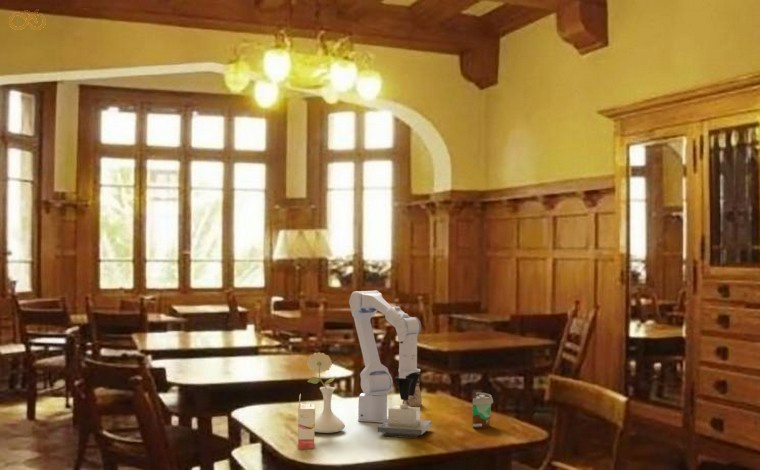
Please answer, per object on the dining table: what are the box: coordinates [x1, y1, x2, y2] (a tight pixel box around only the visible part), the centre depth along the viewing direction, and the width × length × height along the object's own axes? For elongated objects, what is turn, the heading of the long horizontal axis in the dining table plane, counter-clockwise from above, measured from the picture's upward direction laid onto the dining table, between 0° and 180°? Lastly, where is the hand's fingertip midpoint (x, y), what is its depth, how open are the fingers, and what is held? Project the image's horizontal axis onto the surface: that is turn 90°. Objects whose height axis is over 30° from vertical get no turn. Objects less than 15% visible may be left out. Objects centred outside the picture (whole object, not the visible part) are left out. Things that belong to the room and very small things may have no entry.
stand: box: [377, 419, 433, 439], centre depth 266 cm, size 14×14×3 cm
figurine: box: [401, 372, 423, 407], centre depth 313 cm, size 7×7×12 cm
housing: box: [387, 404, 421, 426], centre depth 266 cm, size 5×9×6 cm, turn 74°
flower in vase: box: [305, 351, 346, 434], centre depth 268 cm, size 13×11×25 cm
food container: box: [472, 391, 494, 429], centre depth 278 cm, size 12×6×10 cm, turn 168°
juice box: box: [297, 393, 316, 450], centre depth 250 cm, size 9×5×15 cm, turn 5°
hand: (407, 397), depth 272 cm, fingers open, 7 cm apart
